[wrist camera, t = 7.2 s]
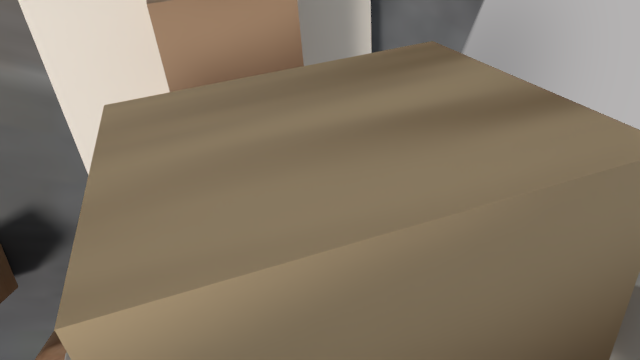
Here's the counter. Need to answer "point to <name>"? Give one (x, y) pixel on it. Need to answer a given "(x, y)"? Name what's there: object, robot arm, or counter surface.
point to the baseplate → (151, 51)
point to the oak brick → (356, 219)
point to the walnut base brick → (224, 39)
